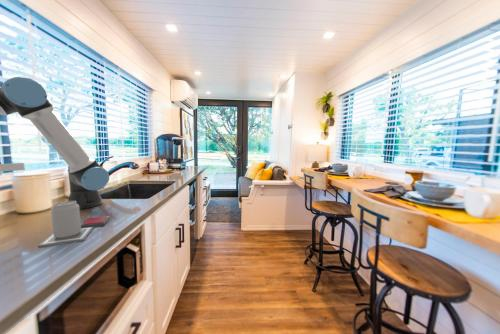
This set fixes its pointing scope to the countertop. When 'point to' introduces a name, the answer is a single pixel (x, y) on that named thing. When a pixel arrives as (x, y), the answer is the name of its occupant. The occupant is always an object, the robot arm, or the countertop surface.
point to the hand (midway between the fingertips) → (13, 168)
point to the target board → (79, 237)
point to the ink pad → (95, 222)
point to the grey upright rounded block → (66, 219)
